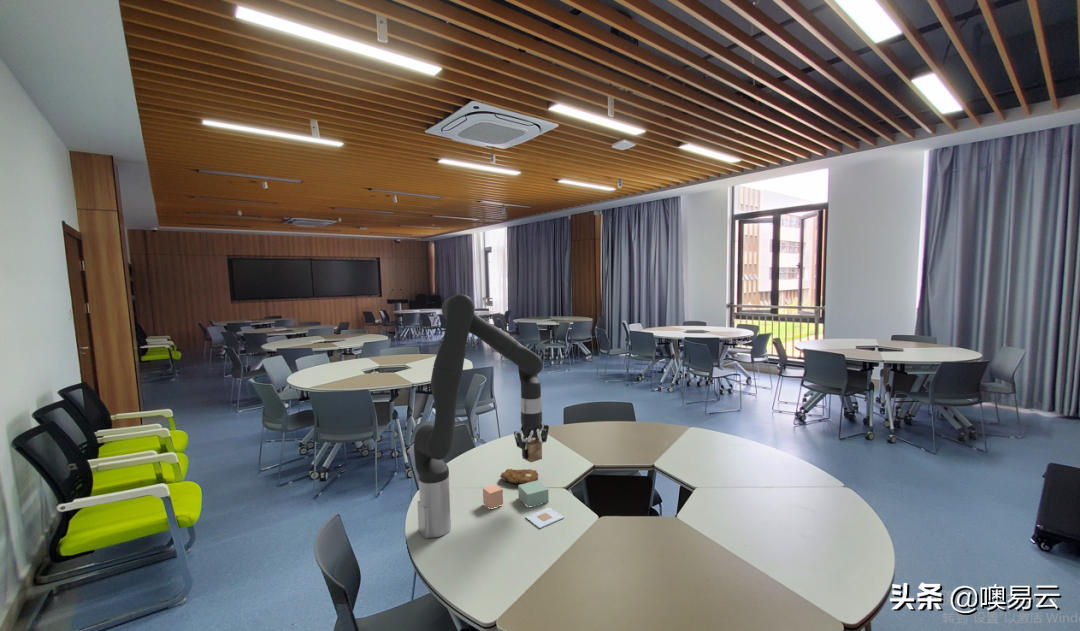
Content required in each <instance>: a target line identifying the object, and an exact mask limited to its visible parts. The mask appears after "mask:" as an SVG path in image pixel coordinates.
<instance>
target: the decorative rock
mask: <svg viewBox="0 0 1080 631" xmlns="http://www.w3.org/2000/svg"><path fill="white" fill-rule="evenodd" d="M500 478H501V479H502V481H504V482H507V481H508V482H509V483H512V484H514V483H515V484H517V485H519V484H525V483H529V482H533V481H537V480H538V481H539V473H538V471H537V469H534V470H533V469H531V468H529V469H525V468H524V469H513V468H507V469H506V470H505V471H503V472H501V474H500ZM518 483H519V484H518Z"/></svg>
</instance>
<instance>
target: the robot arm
mask: <svg viewBox="0 0 1080 631" xmlns="http://www.w3.org/2000/svg"><path fill="white" fill-rule="evenodd" d="M441 305H442V306H441V313H442V317H443V318H444V319H445V320H446V321H445V327H444V328H445V331H444V335H443V339H442V341H441V344H440V346H439V348H438V351H437V354H436V356H435V360H434V362H433V366H432V371H431V378H430V389H431V394H432V395H431V396H432V399H433V401H434V402H433V403H434V408H435V417H434V424H424V425H422V426H420V428H418V429H417V431H416V433H415V435H414V439H413V455H414V465H415V470H416V473H417V474H418V489H419V493H418V495H419V496H418V497H419V500H418V501H417V520H418V521H417V522H418V523H417V526H418V527H417V528H418V531H419V533H420V534H421V535H422V536H423V538H425V539H426V540H427V539H429V538H430V539H431V538H432V539H433V538H439V537H443V536H445V535H446V534H448V533H449V532H450V531H451V528H452V525H451V524H452V519H451V493H450V470H449V469H450V468H449V465H448V464H447V463H446V462H445V461H444V459H445V458H446V457H448V456H449V454H450V452H451V451H452V448H453V444H454V438H455V437H454V436H455V424H456V423H455V422H456V414H457V413H456V412H457V406H458V405H457V404H458V398H459V392H460V388H461V381H462V376H463V371H464V364H465V357H466V350H467V341H468V336H469V333H470V334H472V335H473V336H475V337H477V338H478V339H479V340H481V341H482V342H484V343H485V344H486V345H488V346H489V347H490V348H491V349H493V350H494V351H496V352H497V353H498V354H499V355H500V356H503V357H504V358H505V359H507V360H509V361H510V362H513V363H514V365H516V366H517V369H518V375H519V380H520V424H521V427H520V430H518V431H513V436H514V439H515V444H516V447H517V448H518V449H521V456H522V457H523V458H524V460H525V459H528V445H529V443H530V441H531V439H533V438H534V439H535V440H538V441H540V442H542V445H543V444H544V443H546V442H547V440H548V435H549V434H548V433H549V430H550V426H549V425H548V424H546V423H543V400H542V385H541V382H540V380H539V378H538V374H539V373H541V372H542V370H543V368H544V362H543V360H542V358H541V357H540V356H539V355H538V354H536V353H535V352H533V351H532V350H530V349H529V348H527V347H525V345H523V344H521V343H520V342H519V341H518V340H516V338H514V337H513V336H512V335H510V333H507V332H506V331H504V330H503V329H501V328H500V327H497V326H495V325H493V324H492V323H490V322H488V321H487V320H486V319H484V318H482V317H481V316H479V315H478V314H477V313H476V312H475V304H474V301H473V299H471V297H470V296H469V295H466V294H464V293H459V294H455V295H452V296H451V297H450V296H449V297H448V298H447V299H445V301H443V303H442V304H441ZM542 423H543V424H542ZM523 458H522V459H523Z"/></svg>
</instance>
